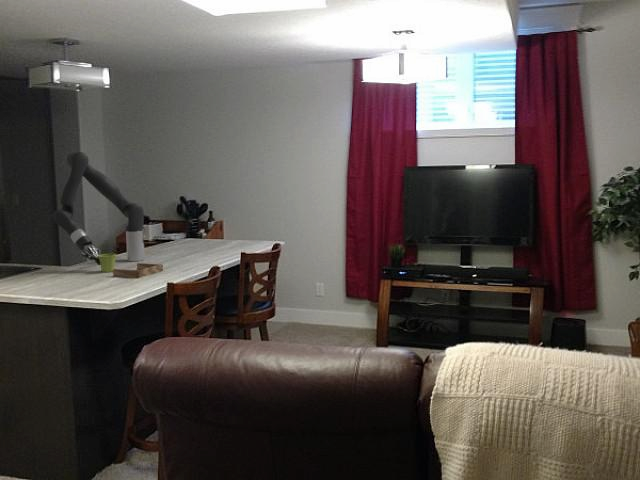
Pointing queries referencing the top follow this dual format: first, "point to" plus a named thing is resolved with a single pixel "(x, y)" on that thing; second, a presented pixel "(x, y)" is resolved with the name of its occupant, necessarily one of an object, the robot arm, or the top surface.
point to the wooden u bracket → (139, 270)
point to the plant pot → (107, 262)
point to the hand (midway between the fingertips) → (100, 263)
